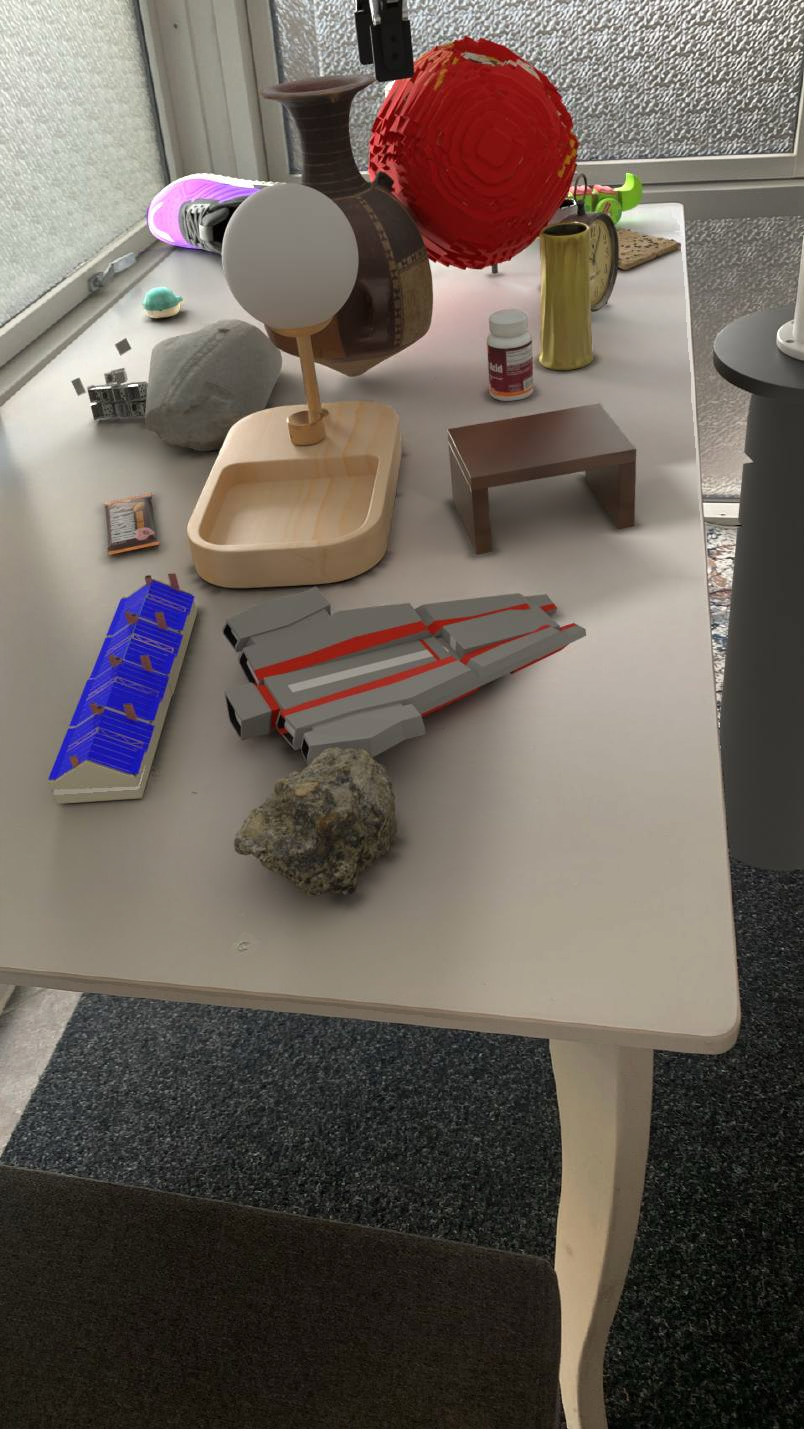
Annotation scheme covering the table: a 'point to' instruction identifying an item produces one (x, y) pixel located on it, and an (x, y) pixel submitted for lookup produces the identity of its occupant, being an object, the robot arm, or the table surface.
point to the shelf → (540, 462)
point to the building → (126, 695)
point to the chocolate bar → (130, 524)
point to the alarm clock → (598, 250)
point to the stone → (209, 382)
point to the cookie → (641, 248)
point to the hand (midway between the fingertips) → (386, 70)
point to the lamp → (296, 417)
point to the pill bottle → (510, 356)
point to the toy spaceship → (376, 664)
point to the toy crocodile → (611, 197)
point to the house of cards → (116, 393)
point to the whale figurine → (161, 303)
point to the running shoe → (199, 209)
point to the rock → (324, 822)
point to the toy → (475, 151)
